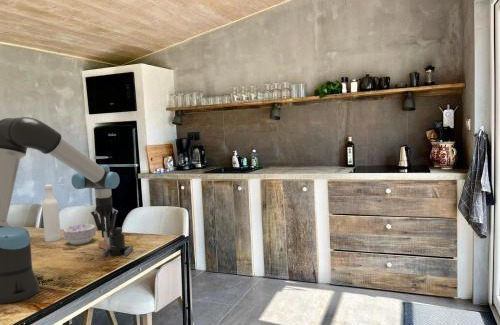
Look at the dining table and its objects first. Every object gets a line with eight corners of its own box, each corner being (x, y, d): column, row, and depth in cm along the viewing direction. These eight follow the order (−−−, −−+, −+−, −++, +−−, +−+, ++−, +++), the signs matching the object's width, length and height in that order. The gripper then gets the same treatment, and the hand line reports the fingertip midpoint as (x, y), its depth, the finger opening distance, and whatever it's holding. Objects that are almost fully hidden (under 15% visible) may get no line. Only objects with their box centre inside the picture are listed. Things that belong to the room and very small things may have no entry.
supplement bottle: (109, 257, 175) (107, 230, 174) (110, 252, 182) (108, 227, 181) (125, 255, 177) (123, 229, 176) (125, 250, 184) (124, 226, 183)
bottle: (54, 242, 204) (49, 185, 202) (41, 242, 206) (36, 186, 204) (64, 238, 212) (60, 183, 210) (51, 237, 214) (47, 183, 211)
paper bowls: (69, 248, 192) (67, 232, 191) (61, 242, 204) (59, 227, 203) (100, 242, 201) (99, 227, 201) (91, 236, 213) (89, 222, 213)
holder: (137, 244, 193) (137, 238, 193) (126, 255, 175) (126, 249, 175) (99, 246, 193) (99, 240, 192) (85, 257, 175) (84, 251, 175)
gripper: (119, 195, 193) (122, 241, 195) (93, 196, 194) (97, 242, 196) (113, 197, 186) (117, 245, 188) (87, 198, 186) (90, 246, 188)
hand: (107, 243), depth 192 cm, fingers closed
